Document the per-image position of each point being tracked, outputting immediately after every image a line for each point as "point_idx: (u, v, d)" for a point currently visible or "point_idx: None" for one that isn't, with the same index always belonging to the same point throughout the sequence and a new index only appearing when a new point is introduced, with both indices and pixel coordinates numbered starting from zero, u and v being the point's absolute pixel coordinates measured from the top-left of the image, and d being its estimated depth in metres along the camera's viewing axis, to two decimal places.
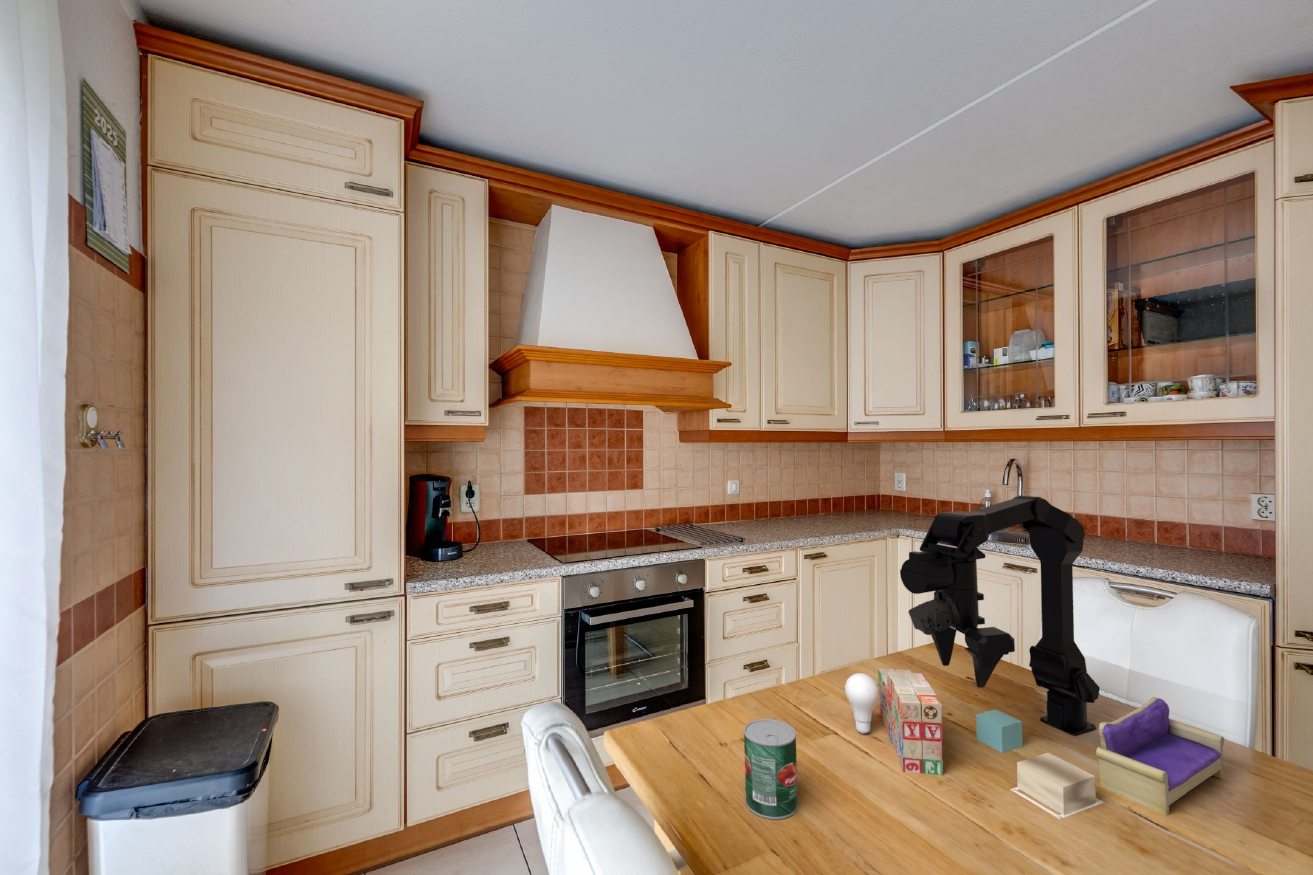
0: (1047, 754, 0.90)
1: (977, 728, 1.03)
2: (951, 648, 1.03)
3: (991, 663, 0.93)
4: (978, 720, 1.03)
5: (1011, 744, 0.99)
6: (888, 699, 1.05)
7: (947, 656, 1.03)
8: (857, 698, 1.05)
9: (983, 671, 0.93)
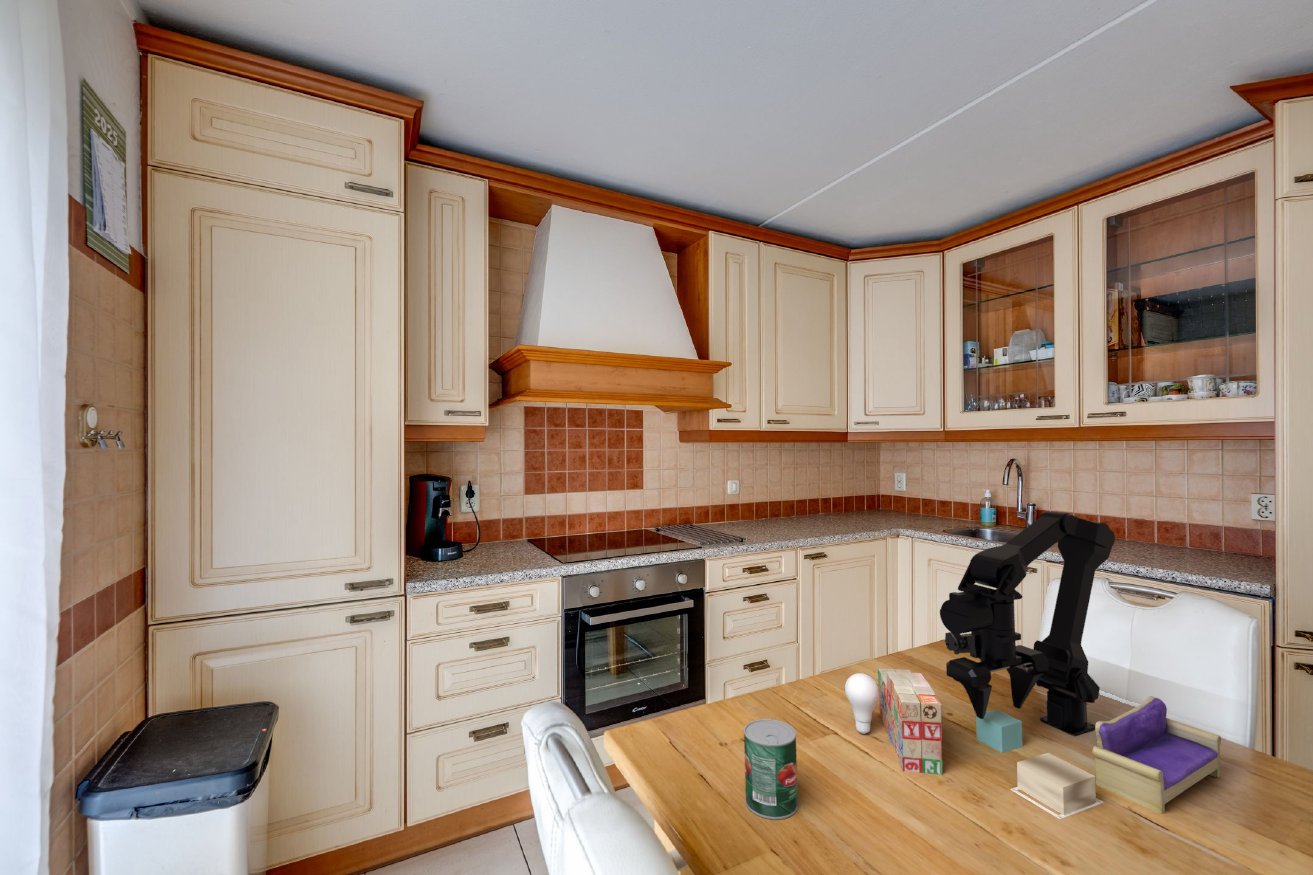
0: (1047, 754, 0.90)
1: (977, 728, 1.03)
2: (1023, 694, 1.02)
3: (979, 697, 0.99)
4: (978, 720, 1.03)
5: (1011, 744, 0.99)
6: (888, 699, 1.05)
7: (1017, 699, 1.03)
8: (857, 698, 1.05)
9: (974, 701, 1.00)
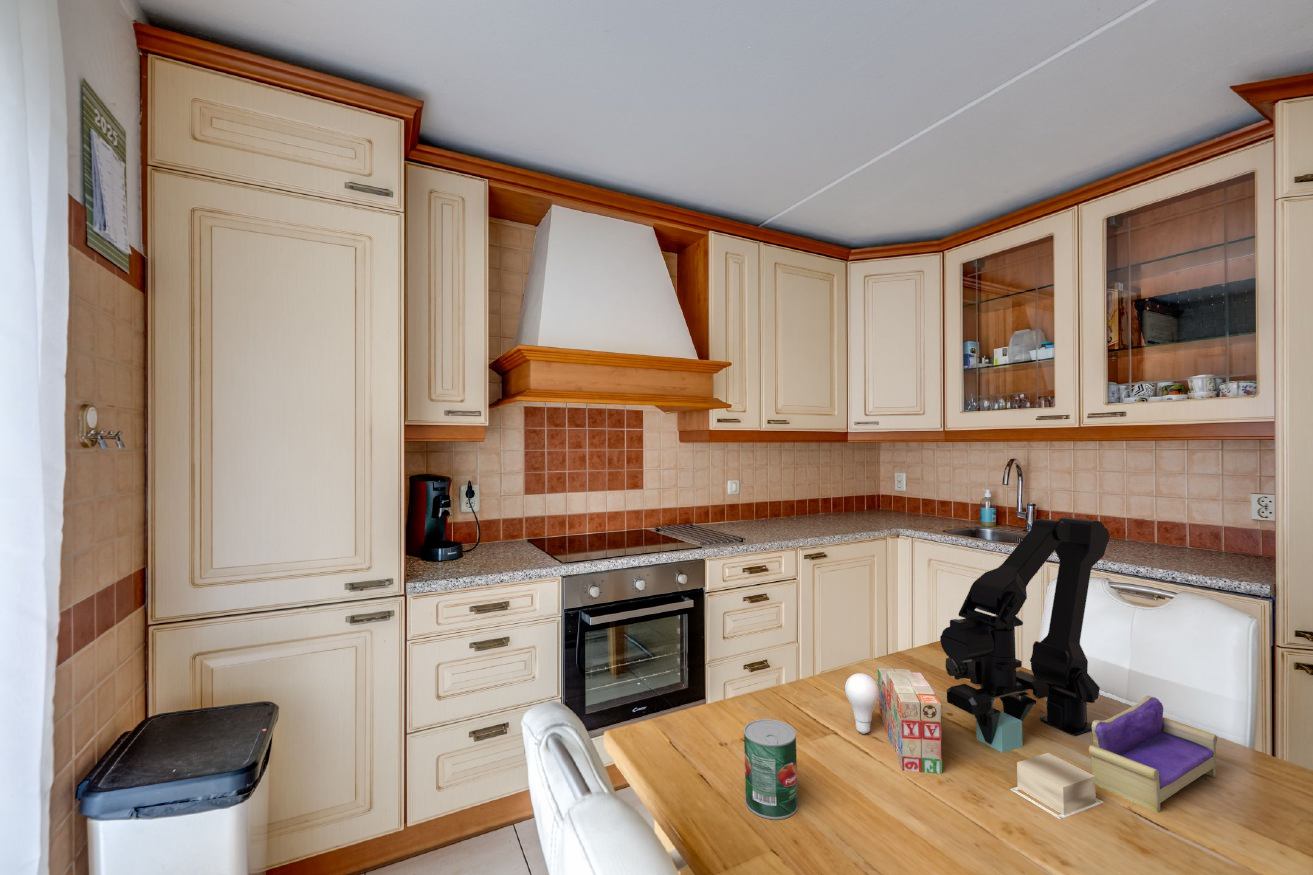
0: (1047, 754, 0.90)
1: (977, 727, 1.03)
2: None
3: (987, 722, 0.99)
4: None
5: (1011, 744, 0.99)
6: (887, 698, 1.05)
7: None
8: (857, 698, 1.05)
9: (982, 726, 1.00)
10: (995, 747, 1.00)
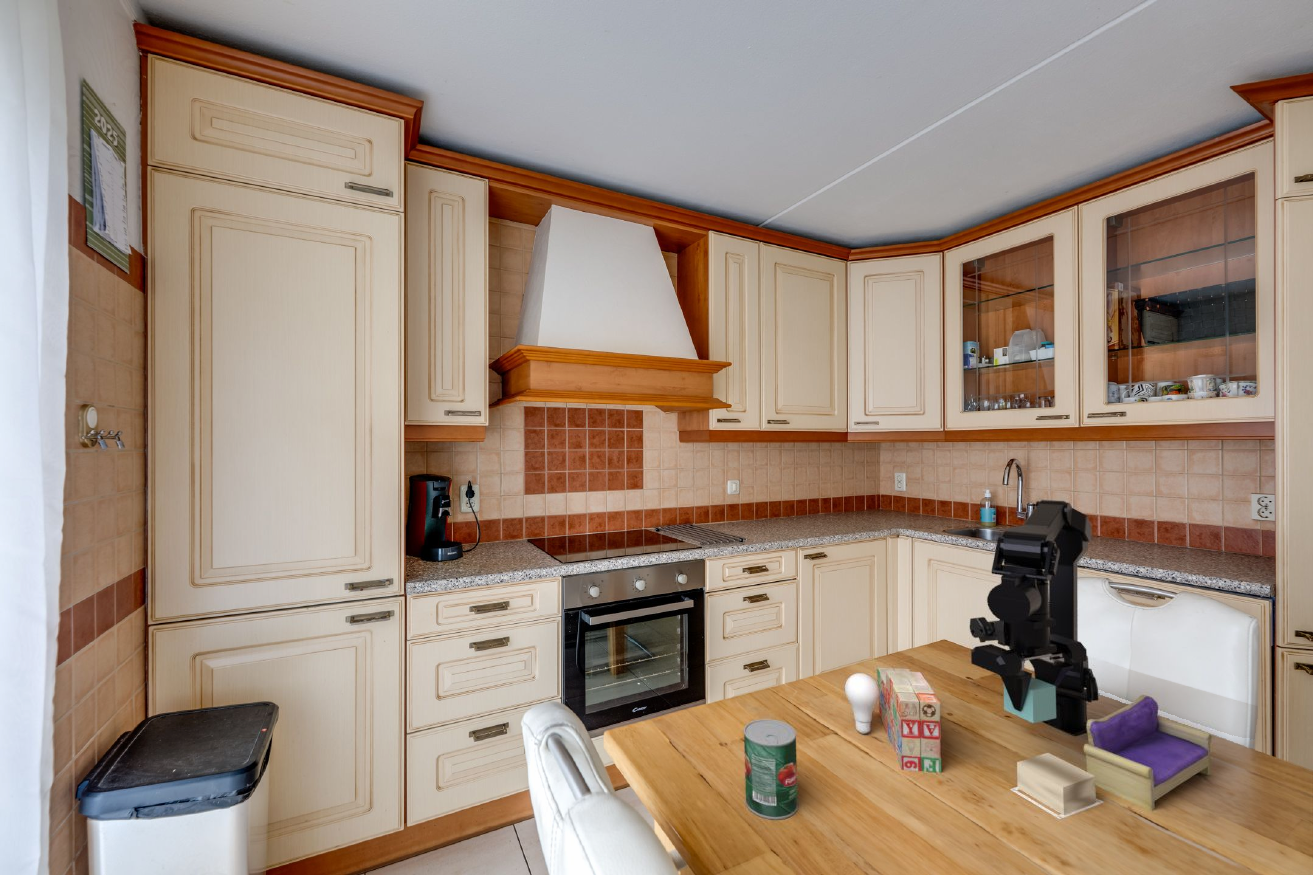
0: (1047, 754, 0.90)
1: (1004, 694, 0.93)
2: None
3: (1017, 686, 0.89)
4: None
5: (1043, 711, 0.89)
6: (887, 697, 1.06)
7: None
8: (857, 698, 1.05)
9: (1011, 691, 0.90)
10: (1025, 714, 0.90)
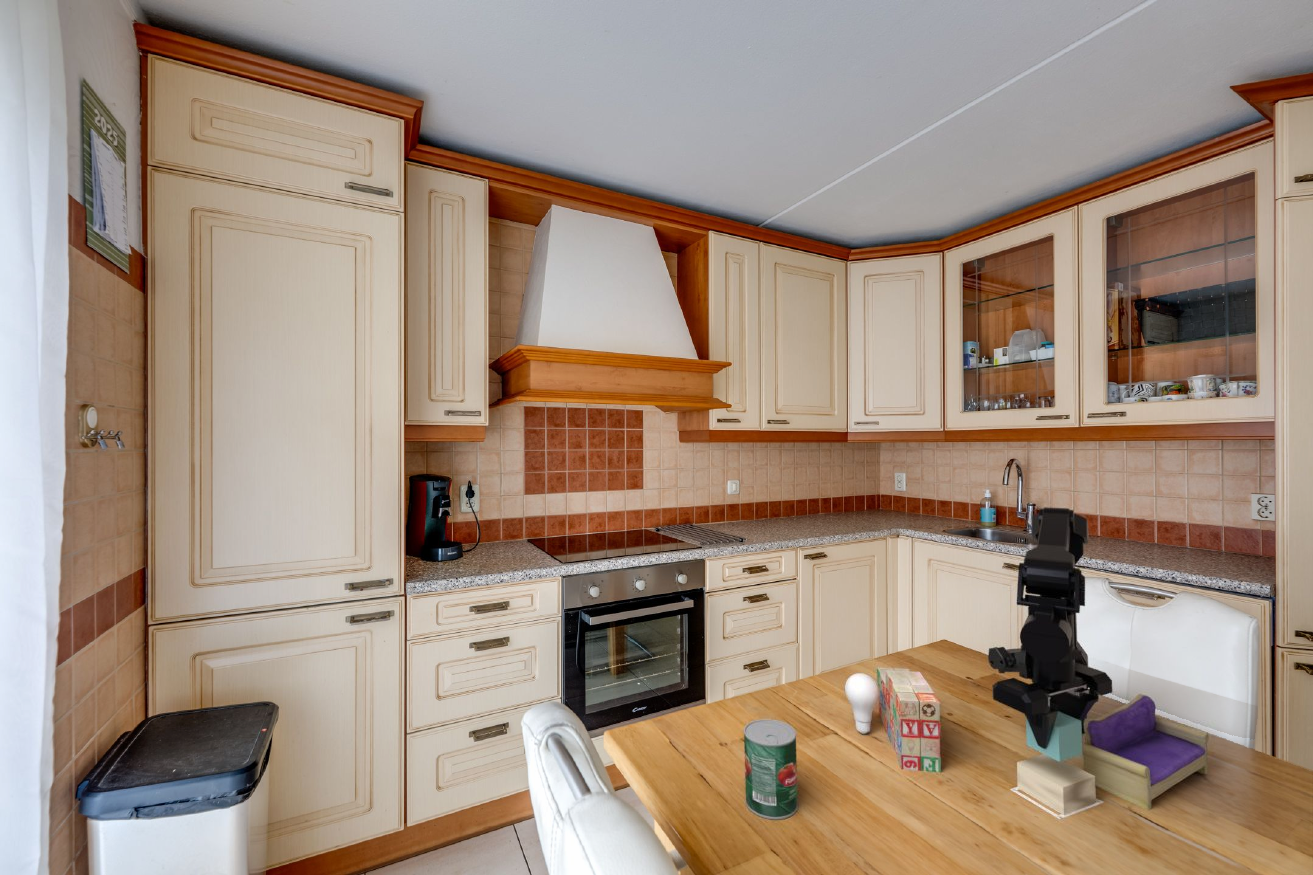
0: None
1: (1027, 729, 0.88)
2: None
3: (1041, 723, 0.84)
4: None
5: (1069, 748, 0.84)
6: (886, 697, 1.06)
7: None
8: (857, 698, 1.05)
9: (1035, 727, 0.85)
10: (1050, 752, 0.85)
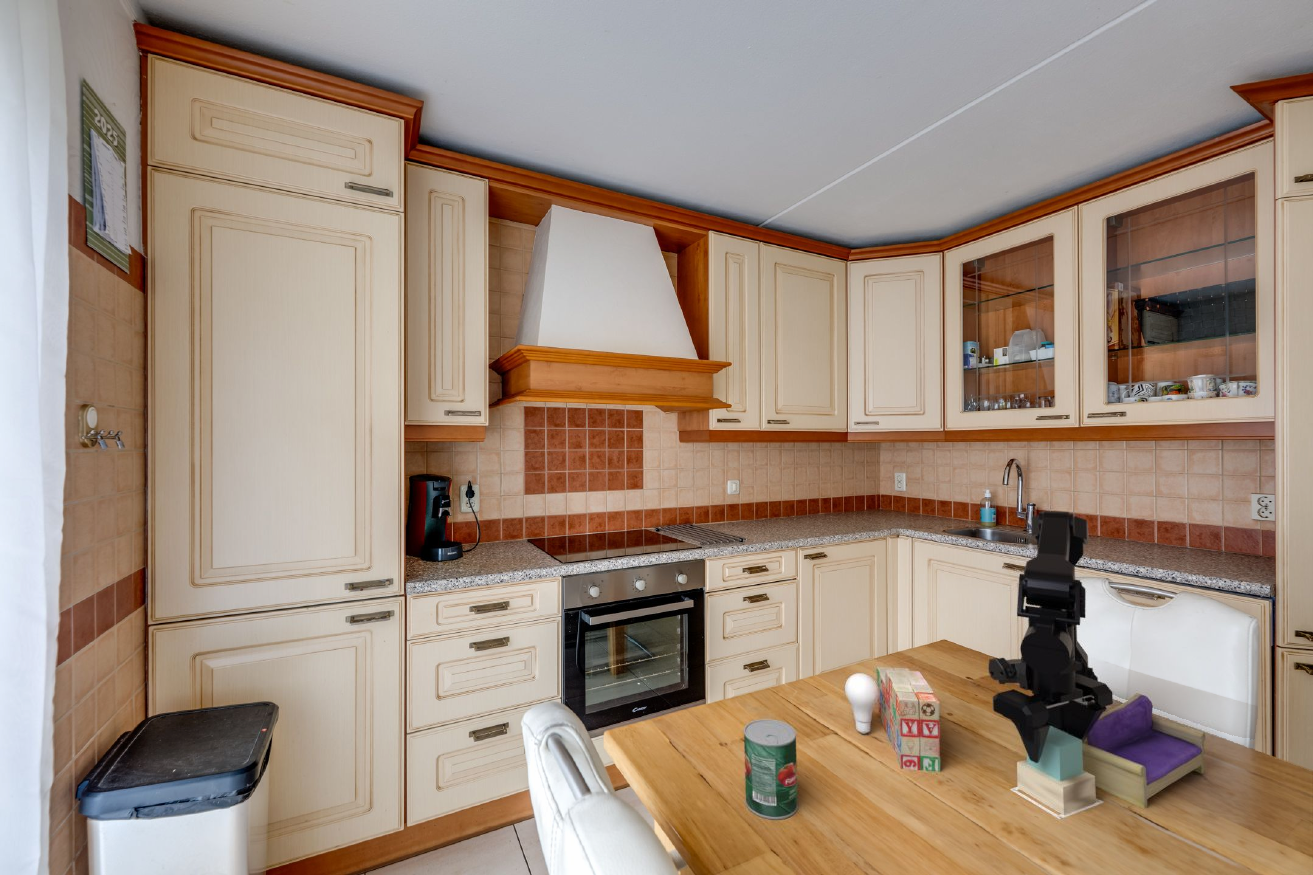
0: None
1: None
2: (1082, 733, 0.87)
3: (1033, 737, 0.83)
4: None
5: (1070, 767, 0.84)
6: (886, 697, 1.06)
7: None
8: (857, 698, 1.05)
9: (1027, 742, 0.85)
10: (1051, 771, 0.85)
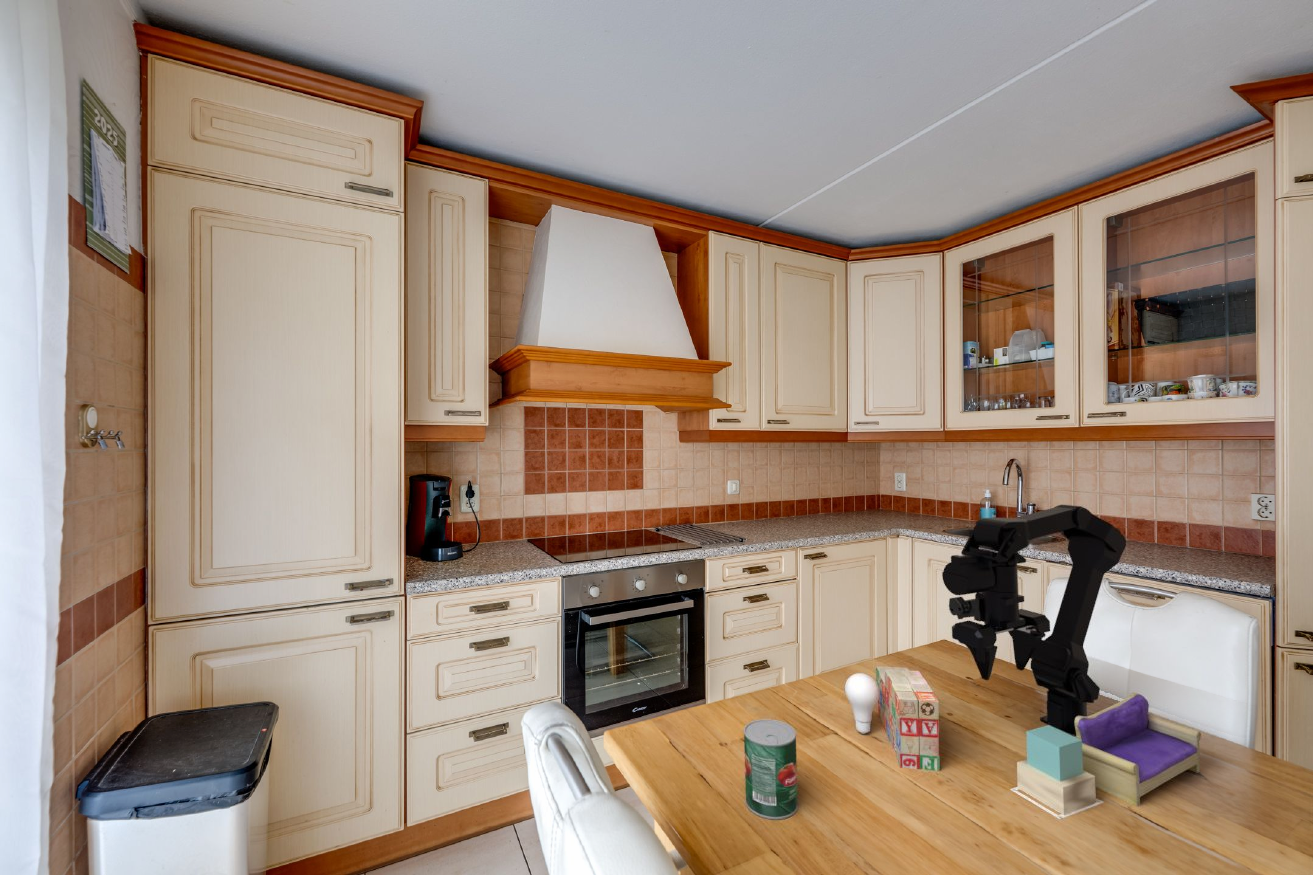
0: None
1: (1028, 747, 0.88)
2: (1026, 655, 1.04)
3: (984, 658, 1.00)
4: (1029, 738, 0.88)
5: (1070, 767, 0.84)
6: (886, 696, 1.06)
7: (1020, 660, 1.05)
8: (857, 698, 1.05)
9: (979, 663, 1.01)
10: (1051, 771, 0.85)
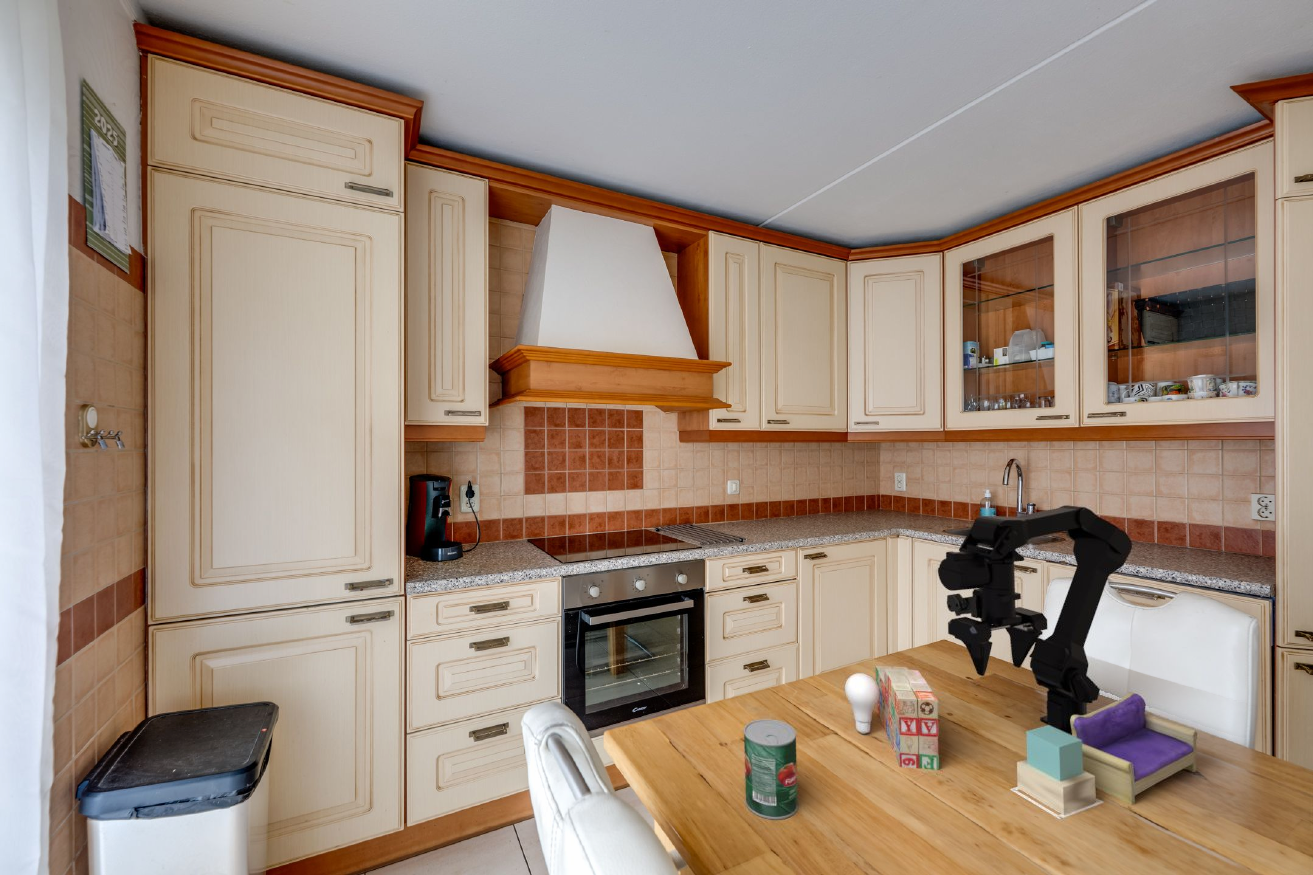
0: None
1: (1028, 747, 0.88)
2: (1022, 653, 1.05)
3: (979, 654, 1.02)
4: (1029, 738, 0.88)
5: (1070, 767, 0.84)
6: (885, 696, 1.06)
7: (1017, 658, 1.06)
8: (857, 698, 1.05)
9: (975, 658, 1.03)
10: (1051, 771, 0.85)
